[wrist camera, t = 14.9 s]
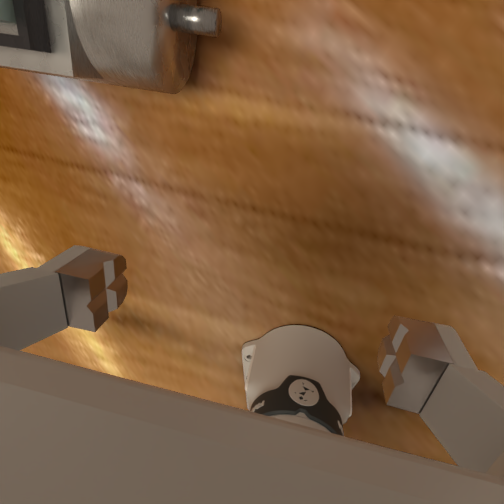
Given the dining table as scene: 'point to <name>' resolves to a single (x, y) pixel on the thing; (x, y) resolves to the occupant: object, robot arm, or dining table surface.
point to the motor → (108, 40)
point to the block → (7, 12)
